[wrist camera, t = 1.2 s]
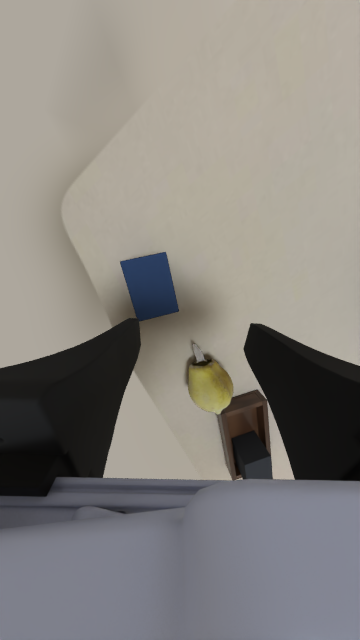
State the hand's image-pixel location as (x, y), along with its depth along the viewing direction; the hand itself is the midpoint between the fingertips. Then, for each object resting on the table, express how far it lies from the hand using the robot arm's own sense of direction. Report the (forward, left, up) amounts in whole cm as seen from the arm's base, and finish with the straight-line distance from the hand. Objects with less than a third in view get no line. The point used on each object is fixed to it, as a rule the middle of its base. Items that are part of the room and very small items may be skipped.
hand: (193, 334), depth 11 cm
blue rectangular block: (-2, +3, -11) cm, 12 cm away
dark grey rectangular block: (+7, -28, -11) cm, 31 cm away
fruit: (+2, -11, -12) cm, 16 cm away
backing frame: (+7, -25, -11) cm, 28 cm away
